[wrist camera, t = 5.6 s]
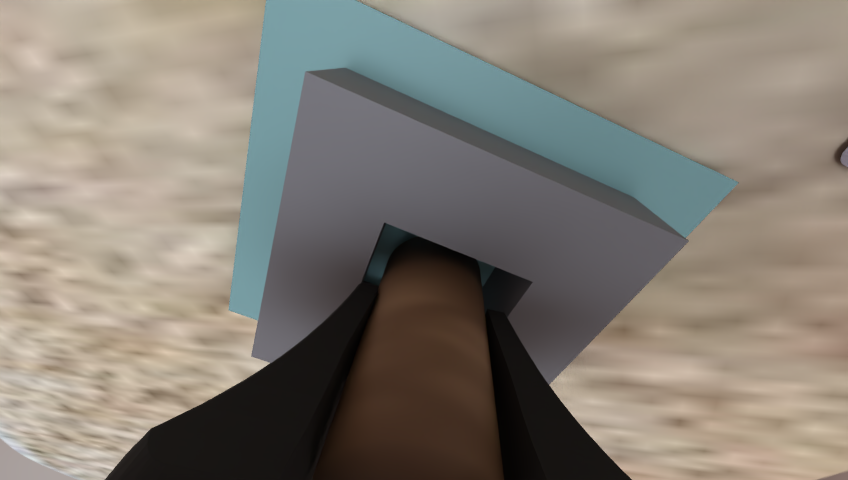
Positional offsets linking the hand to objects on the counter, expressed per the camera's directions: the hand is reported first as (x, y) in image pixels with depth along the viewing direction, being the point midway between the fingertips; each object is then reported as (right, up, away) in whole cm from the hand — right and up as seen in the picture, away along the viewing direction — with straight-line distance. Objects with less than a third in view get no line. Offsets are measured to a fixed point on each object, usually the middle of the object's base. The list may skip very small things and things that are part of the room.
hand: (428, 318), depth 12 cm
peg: (0, +1, +2) cm, 2 cm away
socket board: (0, +2, +4) cm, 5 cm away
